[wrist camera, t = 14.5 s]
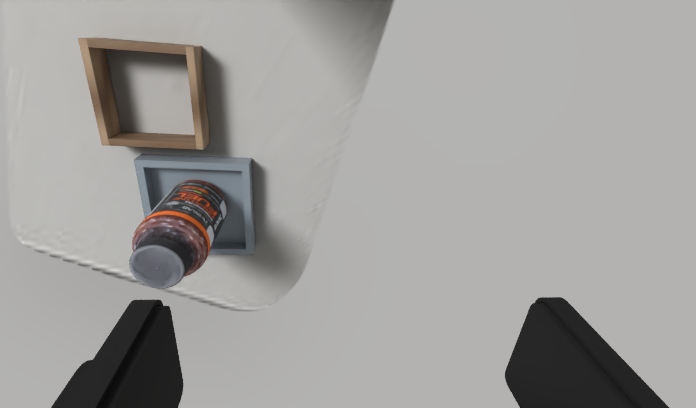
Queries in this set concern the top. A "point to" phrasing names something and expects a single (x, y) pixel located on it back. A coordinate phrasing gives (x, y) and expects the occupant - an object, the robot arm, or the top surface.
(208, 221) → the supplement bottle
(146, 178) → the tray
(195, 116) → the holder
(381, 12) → the top surface
